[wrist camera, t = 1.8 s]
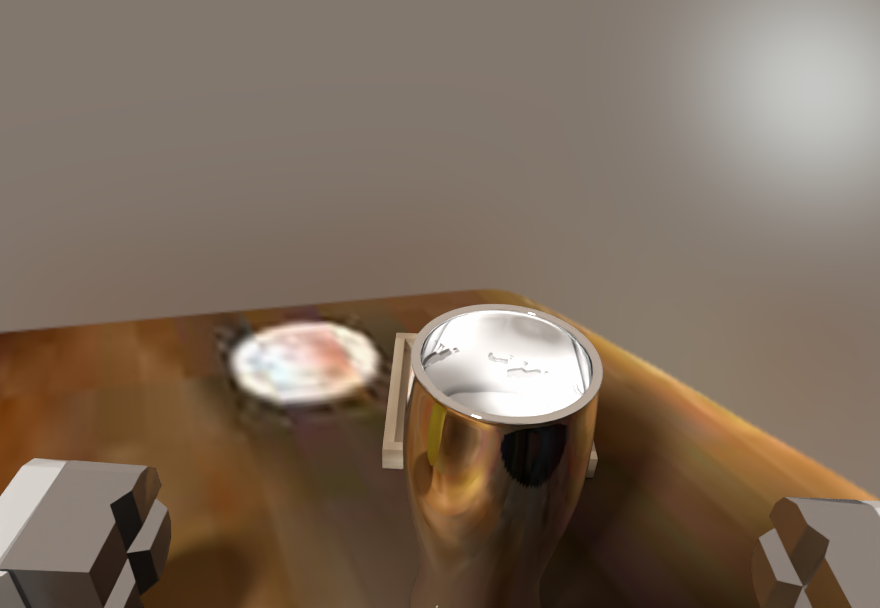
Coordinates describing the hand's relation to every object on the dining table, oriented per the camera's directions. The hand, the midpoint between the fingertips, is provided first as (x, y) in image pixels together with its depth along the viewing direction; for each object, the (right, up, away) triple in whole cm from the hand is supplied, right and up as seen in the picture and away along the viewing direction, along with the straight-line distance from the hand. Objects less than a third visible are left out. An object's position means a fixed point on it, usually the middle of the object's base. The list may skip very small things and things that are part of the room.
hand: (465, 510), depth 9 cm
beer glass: (+1, -12, +23) cm, 25 cm away
